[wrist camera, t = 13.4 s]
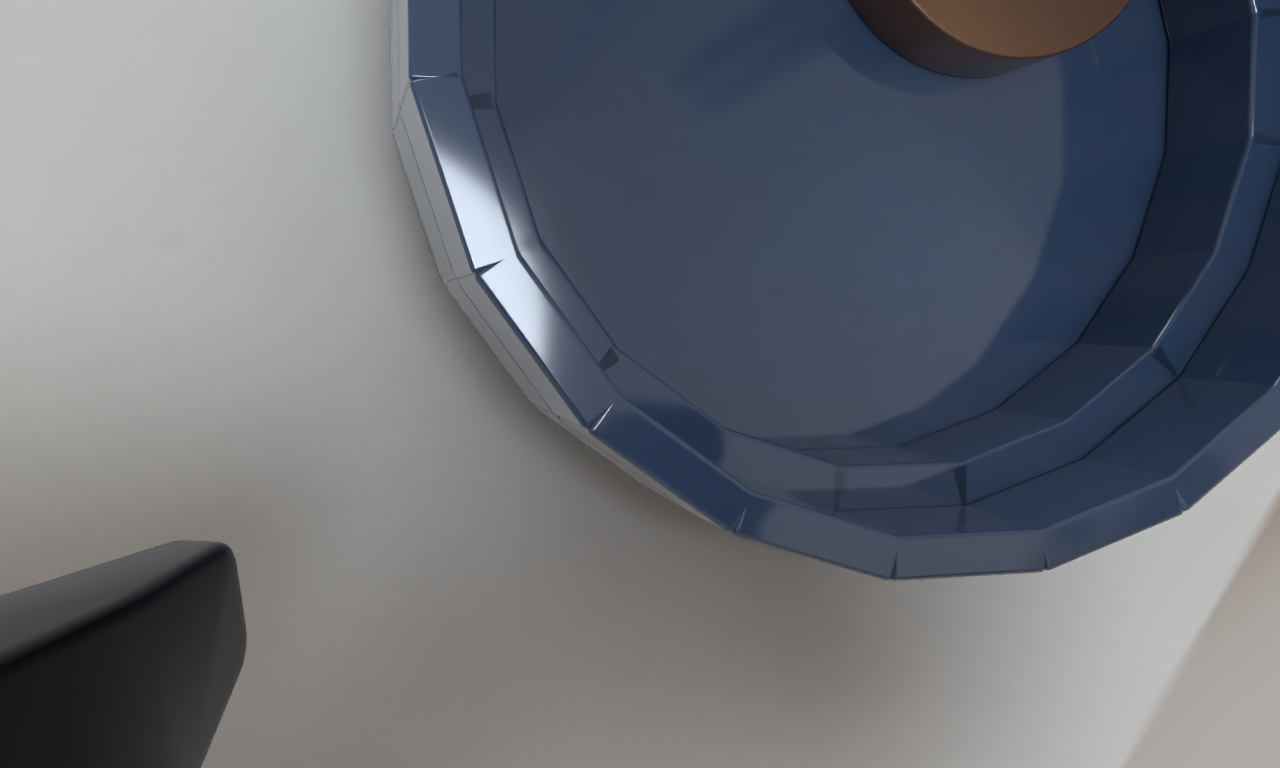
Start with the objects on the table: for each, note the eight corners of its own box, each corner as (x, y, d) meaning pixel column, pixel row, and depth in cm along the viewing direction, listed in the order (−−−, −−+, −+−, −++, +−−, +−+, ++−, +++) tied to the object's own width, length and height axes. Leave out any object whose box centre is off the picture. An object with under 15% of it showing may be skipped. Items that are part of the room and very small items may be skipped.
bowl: (910, 677, 20) (1071, 778, 16) (187, 161, 17) (135, 108, 12) (1333, 29, 21) (1588, -44, 17) (748, -570, 18) (880, -852, 14)
